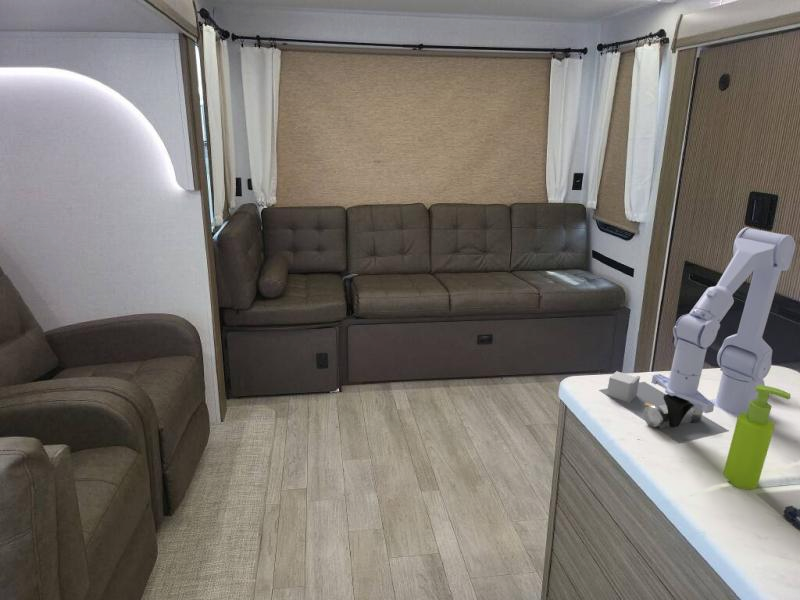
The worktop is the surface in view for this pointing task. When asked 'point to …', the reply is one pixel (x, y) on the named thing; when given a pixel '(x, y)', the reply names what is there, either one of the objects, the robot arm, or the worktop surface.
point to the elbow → (661, 418)
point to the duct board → (643, 395)
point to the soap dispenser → (751, 440)
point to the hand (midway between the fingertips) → (673, 425)
